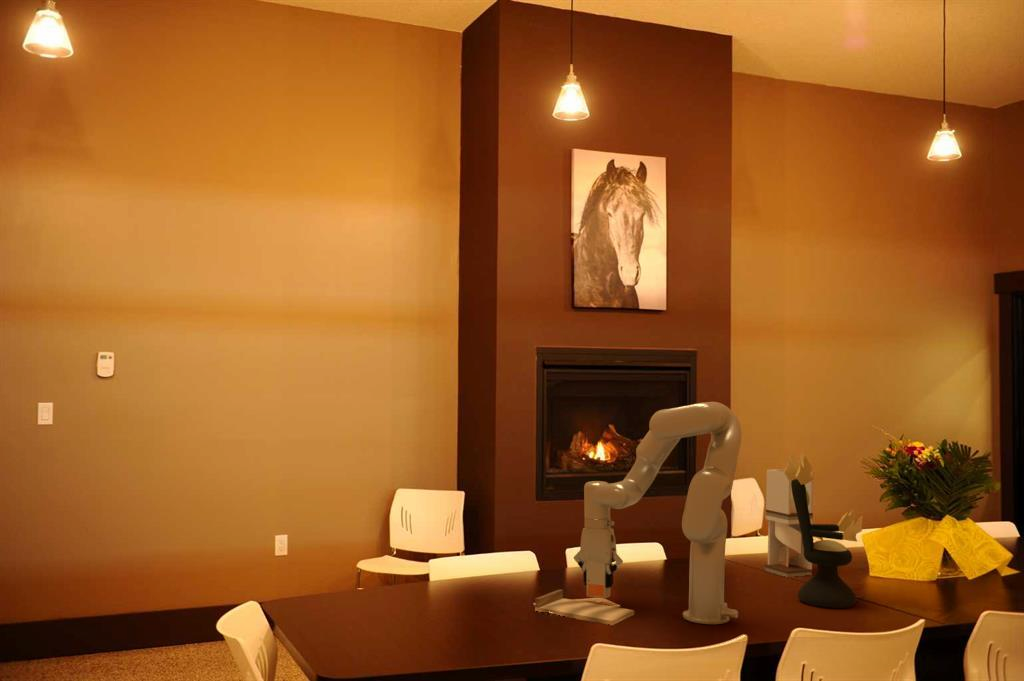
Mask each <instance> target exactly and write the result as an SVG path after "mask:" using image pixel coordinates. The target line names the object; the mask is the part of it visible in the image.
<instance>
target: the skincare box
mask: <svg viewBox="0 0 1024 681" xmlns="http://www.w3.org/2000/svg"><path fill="white" fill-rule="evenodd" d="M606 574H607V571H606V564H603V563H598V562H597V561H595V560H593V559H591V558H590V557H588V556H586V576H587V586H586V597H590V598H596V599H597V598H598V599H607V598H609V597H611V587H610V588H606V586H605V575H606Z"/></svg>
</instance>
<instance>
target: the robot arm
mask: <svg viewBox="0 0 1024 681" xmlns="http://www.w3.org/2000/svg"><path fill="white" fill-rule="evenodd" d="M648 425H649V427H648V428H649V430H648V432H647V433H646V434H645V436H644V437H643V439H642V440H641V441H640V442H639V444H638V445H637V447H636V450H635V452H636V453H635V455H636V458H635V462H634V464H633V465H632V467H631V469H630V470H629V471H628V473H627V474H626V476H625V477H624V478H623V480H620V481H617V482H613V483H611V482H610V483H609V482H607V481H602V480H592V481H587V482H586V483H585V484H584V486H583V492H584V493H583V494H584V495H583V499H584V500H583V502H584V503H583V506H584V510H583V511H584V514H583V515H584V527H583V528H582V531H581V536H580V547H579V548H580V550H579V551H577V553H576V554H575V555H574V556H573V559H574V562H576V563H577V565H578V566H579V568H580V569H581V571H582V572H583V574H582V575H583V577H582V578H583V582H584V586H586V587H587V576H586V556H588V557H590V558H591V559H593V560H595V561H597V562H598V563H603V564H606V571H607V574H606V575H605V586H606V588H610V589H611V587H613V585H614V573H615V572H616V571H617V569H619V567H620V566H621V565H622V564H623V563H624V560H623V559H622V558H621V557H620V556H619V554H618V553H617V552H618V551H617V544H616V543H617V542H616V536H615V531H614V529H613V528H611V527H612V526H615V521H614V520H612V518H611V509H615V510H621V509H625V508H628V507H631V506H633V505H635V504H637V503H638V502H639V501H640V500H641V499H642V497H643V496H644V495H645V493H646V492H647V490H648V489H649V488H650V487H651V485H652V484H653V482H654V481H655V478H656V477H657V475H658V474H659V471H660V469H661V467H662V465H663V463H664V462H665V461H666V460H667V458H668V456H670V454H671V452H672V451H673V449H674V448H675V447H676V446H677V444H678V443H679V442H680V440H681V439H682V438H689V437H693V436H700V435H706V434H707V435H708V434H710V441H709V444H708V447H707V450H706V457H705V460H704V465H703V468H702V469H700V470H699V471H698V472H697V473H695V474H694V475H693V477H692V479H691V481H690V484H689V486H688V491H687V496H686V500H685V504H684V508H683V509H684V510H683V513H682V518H681V519H682V520H681V529H682V533H683V534H684V536H685V537H686V539H688V540H689V541H690V549H689V550H690V551H689V572H688V573H689V574H688V575H689V577H688V580H689V583H688V584H689V588H688V609H687V610H684V611H683V612H682V617H683V619H684V620H687V621H689V622H691V623H695V624H702V625H720V624H726V623H728V622H730V618H734V619H737V618H739V611H738V610H737V609H733V608H729V607H728V603H727V602H725V599H724V598H725V564H726V563H725V562H726V545H727V544H726V543H727V534H728V519H727V518H728V517H727V516H726V513H725V512H724V510H723V509H722V505H723V501H724V500H725V499H727V497H729V496H730V494H731V493H732V490H733V486H734V479H735V475H736V469H737V465H738V461H739V460H738V459H739V454H740V451H741V444H742V427H741V423H740V421H739V418H738V417H737V415H736V414H735V413H734V412H733V411H732V409H730V407H728V406H727V405H725V404H723V403H721V402H717V401H706V402H698V403H693V404H688V405H682V406H679V407H678V406H677V407H672V408H664V409H660V410H657V411H655V413H654V414H653V415H652V416H651V417H650V420H649V423H648ZM613 563H614V564H613Z"/></svg>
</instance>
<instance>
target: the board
mask: <svg viewBox="0 0 1024 681" xmlns="http://www.w3.org/2000/svg"><path fill="white" fill-rule="evenodd" d="M536 611H538V612H537V613H541V612H549V611H550V612H553V613H556V614H557V615H556V616H558V615H560V617H563V616H565V617H564V618H570V619H574V618H575V620H581V621H587V622H593V623H597V622H598V623H597V624H603V625H608V624H609V625H608V626H615V625H616V624H619V623H620V622H623V621H624V620H626V619H628V618H631V617H632V616H634V615H635V610H634V609H628V608H622V607H616V606H610V605H604V604H600V603H594V602H588V601H581V600H577V599H576V600H575V599H569V598H564V590H563V589H557V590H554V591H551V592H549V593H546V594H544V595H540V596H538V597H535V599H534V612H536Z"/></svg>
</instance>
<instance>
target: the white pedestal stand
mask: <svg viewBox="0 0 1024 681" xmlns="http://www.w3.org/2000/svg"><path fill="white" fill-rule="evenodd" d="M784 470H785V468H779V469H778V468H776V469H772V468H771V469H766V493H765V494H766V495H765V496H766V497H765V498H766V500H765V502H766V503H765V508H766V509H765V520H768V522H767V523H768V524H767V525H768V526H767V527H768V532H767V533H768V534H767V564H765V565H764V572H768V573H772V574H774V573H775V575H778V576H782V577H784V576H785V578H795V576H798V577H806V576H805V575H810V576H812V575H813V572H812V571H813V563H810V562H808V561H807V560H806V559H805V557H804V547H803V540H802V534H801V529H800V525H799V521H798V516H797V512H796V508H795V503H794V499H793V495H792V488H791V481H792V480H788V478H787V476H786V475H785V474H784ZM810 474H811V477H813V478H814V479H815V477H814V471H811V473H810ZM796 479H797V478H796ZM805 487H806V490H807V491H808V494H809V497H810V502H809V505H808V510H809V516H810V522H811V524H814V522H813V521H814V520H813V515H814V480H812V481H811V482H809V483H807V484H805Z"/></svg>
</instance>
